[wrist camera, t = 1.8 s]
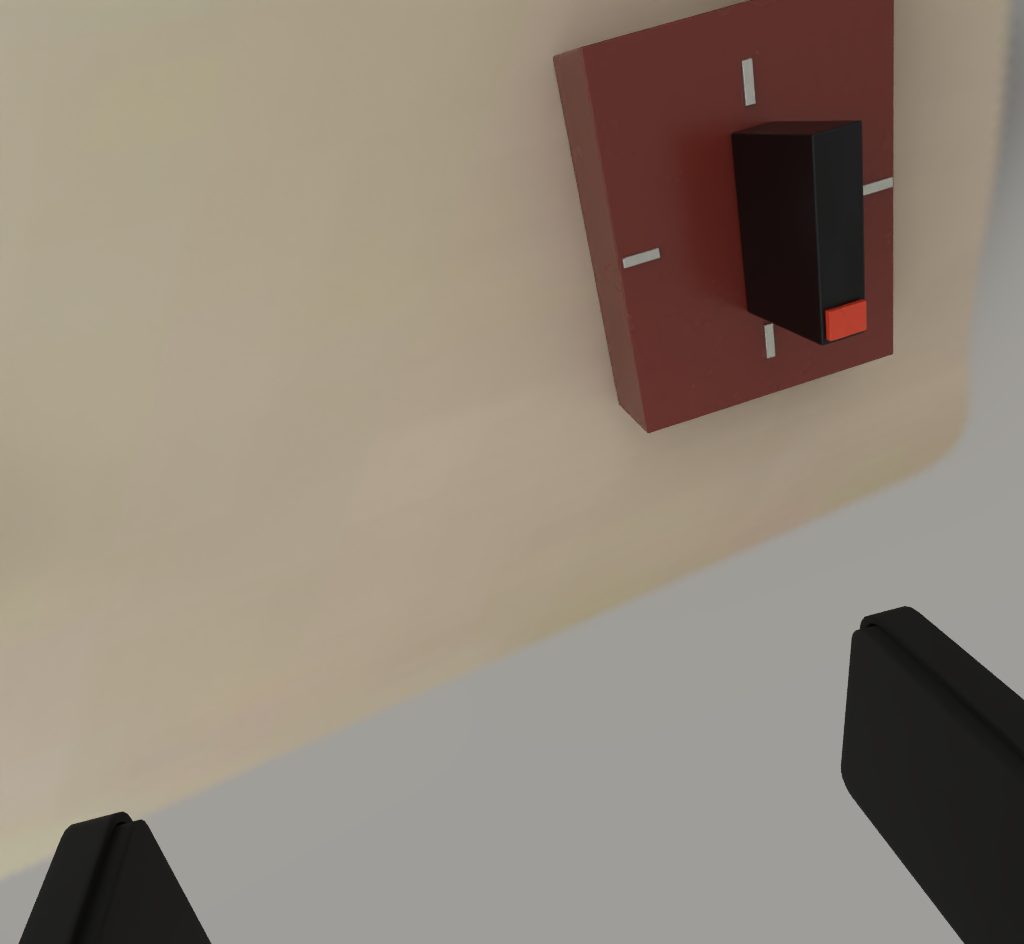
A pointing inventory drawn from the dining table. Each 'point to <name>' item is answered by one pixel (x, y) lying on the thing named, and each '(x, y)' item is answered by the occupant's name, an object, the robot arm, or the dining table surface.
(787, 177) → the black rectangular block
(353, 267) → the dining table surface
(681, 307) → the rotary switch block
